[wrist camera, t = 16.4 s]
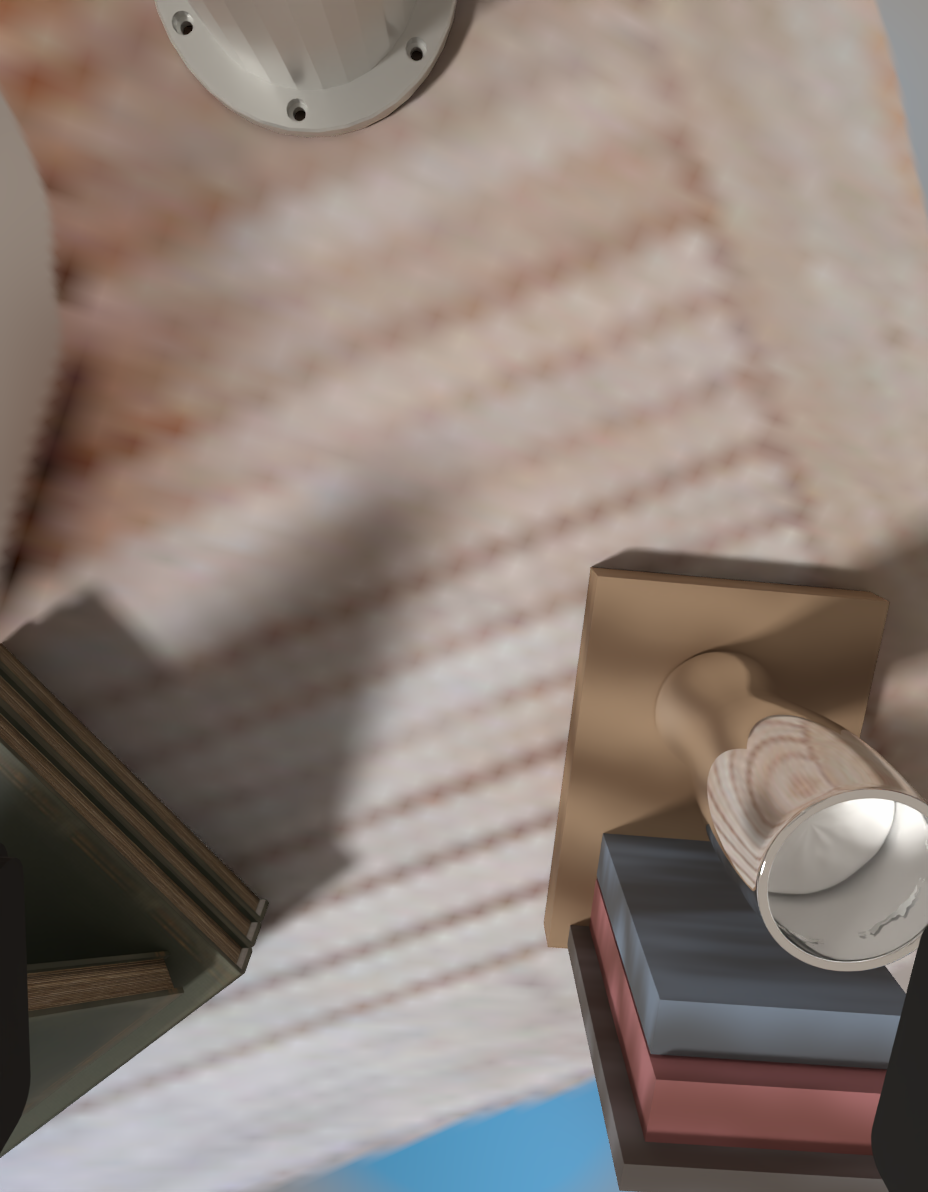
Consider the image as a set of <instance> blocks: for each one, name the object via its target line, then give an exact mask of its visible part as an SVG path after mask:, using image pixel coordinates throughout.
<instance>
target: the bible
mask: <svg viewBox="0 0 928 1192" xmlns="http://www.w3.org/2000/svg"><path fill="white" fill-rule="evenodd" d="M0 843H2V844H3V845H4V846H5V848H6V850H7V853H8V857H13V858H18V859H19V860H20V861H21V863H22V866H23V873H24V901H25V929H26V957H27V986H28V1014H29V1043H30V1071H31V1079H30V1088H29V1094H28V1098H27V1102H26V1105H25V1108H24V1110H23V1113H22V1116H21V1118H20V1120H19V1122H18V1124H17V1125H16V1127H15V1129H14V1131H13V1132H12V1134H11V1136H10V1137H9V1139H8V1141H7V1143H6V1144H5V1146H4V1148H3V1150H2V1151H1V1153H0V1158H1V1157H2V1156H3V1155H5V1154H6V1153H7V1152H9V1151H10V1150H11V1149H13V1148H14V1147H15V1146H17V1145H18V1144H19V1143H21V1142H22V1141H23V1140H25V1139H26V1138H27V1137H29V1136H30V1135H31V1134H33V1133H34V1132H35V1131H37V1130H38V1129H39V1128H40V1127H42V1126H43V1125H44V1124H46V1123H47V1122H48V1121H50V1120H51V1119H52V1118H54V1117H55V1116H56V1115H58V1114H59V1113H60V1112H62V1111H63V1110H64V1109H66V1108H67V1107H68V1106H70V1105H71V1104H72V1103H74V1102H75V1101H76V1100H78V1099H79V1098H80V1097H81V1096H83V1095H84V1094H85V1093H87V1092H88V1091H89V1090H91V1089H92V1088H93V1087H95V1086H96V1085H97V1084H99V1083H100V1082H101V1081H103V1080H104V1079H105V1078H107V1077H108V1076H109V1075H111V1074H112V1073H113V1072H115V1071H116V1070H117V1069H118V1068H120V1067H121V1066H122V1065H124V1064H125V1063H126V1062H128V1061H129V1060H130V1059H132V1058H133V1057H134V1056H136V1055H137V1054H138V1053H140V1052H141V1051H142V1050H144V1049H145V1048H146V1047H148V1046H149V1045H150V1044H152V1043H153V1042H154V1041H156V1040H157V1039H158V1038H159V1037H161V1036H162V1035H163V1034H165V1033H166V1032H167V1031H169V1030H170V1029H171V1028H173V1027H174V1026H175V1025H177V1024H178V1023H179V1022H181V1021H182V1020H183V1019H185V1018H186V1017H187V1016H189V1015H190V1014H191V1013H193V1012H194V1011H195V1010H196V1009H198V1008H199V1007H200V1006H202V1005H203V1004H204V1003H206V1002H207V1001H208V1000H210V999H211V998H212V997H214V996H215V995H216V994H218V993H219V992H220V991H222V990H223V989H224V988H226V987H227V986H228V985H230V984H231V983H232V982H233V981H235V980H236V979H237V978H239V977H240V976H241V975H243V974H244V973H245V971H246V968H247V965H248V962H249V959H250V957H251V954H252V948H251V947H253V946H254V945H255V942H256V939H257V936H258V933H259V930H260V928H261V923H260V922H261V921H262V920H263V919H264V916H265V913H266V910H267V907H268V904H269V902H268V901H267V900H266V899H259V898H258V897H257V896H256V895H255V894H254V893H253V892H252V891H251V890H250V889H249V888H248V887H247V886H246V885H245V884H244V883H243V882H242V881H241V880H240V879H239V878H238V877H237V876H236V875H235V874H233V873H232V872H231V871H230V870H229V869H228V868H227V867H226V866H225V865H224V864H223V863H222V862H221V861H220V860H219V859H218V858H217V857H216V856H215V855H214V854H213V853H212V852H211V851H210V850H209V849H208V848H207V847H206V846H205V845H204V844H203V843H202V842H201V841H200V840H199V839H198V838H197V837H196V836H195V835H194V834H193V833H192V832H191V831H190V830H189V829H188V828H187V827H186V826H185V825H184V824H183V823H182V822H181V821H180V820H179V819H178V818H177V817H176V816H175V815H174V814H173V813H172V812H171V811H170V810H169V809H168V808H167V807H166V806H165V805H164V804H163V803H162V802H161V801H160V800H159V799H158V798H157V797H156V796H155V795H154V794H153V793H152V792H151V791H150V790H149V789H148V788H147V787H146V786H145V785H144V784H143V783H142V782H141V781H140V780H139V779H138V778H137V777H136V776H135V775H134V774H133V773H132V772H131V771H130V770H129V769H128V768H127V767H126V766H125V765H124V764H123V763H121V762H120V761H119V760H118V759H117V758H116V757H115V756H114V755H113V754H112V753H111V752H110V751H109V750H108V749H107V748H106V747H105V746H104V745H103V744H102V743H101V742H100V741H99V740H98V739H97V738H96V737H95V736H94V735H93V734H92V733H91V732H90V731H89V730H88V729H87V728H86V727H85V726H84V725H83V724H82V723H81V722H80V721H79V720H78V719H77V718H76V717H75V716H74V715H73V714H72V713H71V712H70V711H69V710H68V709H67V708H66V707H65V706H64V705H63V704H62V703H61V702H60V701H59V700H58V699H57V698H56V697H55V696H54V695H53V694H52V693H51V692H50V691H49V690H48V689H47V688H46V687H45V686H44V685H43V684H42V683H41V682H40V681H39V680H38V679H37V678H36V677H35V676H34V675H33V674H32V673H31V672H30V671H29V670H28V669H27V668H26V667H25V666H24V665H23V664H22V663H21V662H20V661H19V660H18V659H17V658H16V657H15V656H14V655H13V654H12V653H11V652H9V651H8V650H7V649H6V648H5V647H4V646H3V645H2V644H0Z"/></svg>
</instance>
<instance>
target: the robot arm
mask: <svg viewBox="0 0 928 1192" xmlns="http://www.w3.org/2000/svg"><path fill="white" fill-rule="evenodd" d="M456 3H457V0H155V4H156V8H157V11H158V14H159V16H160V18H161V20H162V23H163V25H164V27H165V30H166V32H167V34H168V37H169V39H170V41H171V43H172V44H173V46H174V47H175V49H176V50H177V52H178V53H179V55H180V56H181V58H182V60H183V61H184V63H185V64H186V66H187V67H188V69H189V70H190V71H191V72H192V73H193V75H194V76H195V77H196V78H197V79H198V81H199V82H200V83H201V84H202V85H203V87H205V88H206V89H207V90H208V91H209V92H210V93H211V94H212V95H213V96H214V97H216V98H217V99H218V100H219V101H220V102H221V103H222V104H223V105H224V106H225V107H227V108H228V109H230V110H231V111H233V112H235V113H236V114H238V115H240V116H241V117H243V118H244V119H246V120H248V121H249V122H251V123H253V124H256V125H258V126H261V127H264V128H266V129H269V130H272V131H274V132H277V133H281V134H287V135H293V136H299V137H306V138H310V137H331V136H338V135H341V134H345V133H349V132H353V131H356V130H360V129H363V128H365V127H367V126H369V125H371V124H373V123H375V122H377V121H379V120H381V119H383V118H385V117H386V116H388V115H389V114H390V113H392V112H393V111H394V110H395V109H397V108H398V107H399V106H400V105H402V104H403V103H404V102H405V101H407V100H408V99H409V98H410V97H411V96H412V95H413V93H414V92H415V91H416V90H417V89H418V87H419V86H420V85H421V84H422V83H423V82H424V80H425V79H426V78H427V77H428V76H429V74H430V72H431V70H432V68H433V67H434V65H435V63H436V61H437V60H438V58H439V56H440V54H441V53H442V51H443V49H444V46H445V43H446V40H447V37H448V35H449V32H450V29H451V26H452V23H453V20H454V15H455V9H456ZM189 25H191V26H193V30H192V31H191V32H190V33H189V34H187V35H184V32H183V31H184V28H185V27H186V26H189ZM414 51H419V52H421V53H422V54H423V57H422V59H421V60H419V61H414V60H413V59H412V58H411V54H412V53H413V52H414ZM300 110H302V111H304V112H305V113H306V116H305V119H304V120H302V121H297V120H295V114H296V112H297V111H300ZM30 1079H31V1071H30V1043H29V1014H28V986H27V957H26V929H25V901H24V873H23V866H22V863H21V861H20V860H19V859H18V858H13V857H8V853H7V850H6V848H5V846H4V845H3V844H2V843H0V1153H1V1151H2V1150H3V1148H4V1146H5V1144H6V1143H7V1141H8V1139H9V1137H10V1136H11V1134H12V1132H13V1131H14V1129H15V1127H16V1125H17V1124H18V1122H19V1120H20V1118H21V1116H22V1113H23V1110H24V1108H25V1105H26V1102H27V1098H28V1094H29V1088H30ZM871 1147H872V1153H873V1158H874V1161H875V1164H876V1167H877V1170H878V1172H879V1174H880V1176H881V1178H882V1180H883V1182H884V1183H885V1185H886V1187H887V1189H888V1191H889V1192H928V926H927V927H926V928H925V929H924V930H923V933H922V935H921V938H920V942H919V946H918V950H917V954H916V958H915V961H914V965H913V969H912V973H911V977H910V981H909V985H908V989H907V993H906V997H905V1001H904V1005H903V1008H902V1012H901V1016H900V1020H899V1024H898V1028H897V1032H896V1036H895V1040H894V1044H893V1048H892V1052H891V1056H890V1059H889V1063H888V1067H887V1071H886V1075H885V1079H884V1083H883V1087H882V1091H881V1095H880V1099H879V1103H878V1107H877V1110H876V1114H875V1118H874V1122H873V1126H872V1132H871Z"/></svg>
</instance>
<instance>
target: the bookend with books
mask: <svg viewBox="0 0 928 1192" xmlns="http://www.w3.org/2000/svg"><path fill="white" fill-rule="evenodd" d="M889 603H890V602H889V601H887V600H885V599H883V598H881V597H879V596H877V595H875V594H873V593H871V592H867V591H856V590H845V589H833V588H822V587H811V586H799V585H788V584H777V583H765V582H754V581H742V580H731V579H720V578H708V577H697V576H686V575H674V574H663V573H652V572H640V571H629V570H617V569H606V568H595V567H591V570H590V578H589V585H588V593H587V600H586V608H585V615H584V623H583V630H582V638H581V646H580V653H579V661H578V668H577V676H576V683H575V691H574V699H573V706H572V714H571V721H570V729H569V736H568V744H567V751H566V759H565V767H564V774H563V782H562V789H561V797H560V804H559V812H558V820H557V827H556V835H555V842H554V850H553V857H552V865H551V872H550V880H549V888H548V895H547V903H546V910H545V918H544V928H545V933H546V939H547V945H548V947H555V948H568V951H569V955H570V960H571V965H572V969H573V974H574V979H575V984H576V988H577V993H578V998H579V1002H580V1007H581V1012H582V1017H583V1021H584V1026H585V1031H586V1035H587V1040H588V1045H589V1049H590V1054H591V1059H592V1064H593V1068H594V1073H595V1078H596V1082H597V1087H598V1092H599V1096H600V1101H601V1106H602V1111H603V1115H604V1120H605V1124H606V1129H607V1134H608V1139H609V1143H610V1148H611V1153H612V1157H613V1162H614V1167H615V1172H616V1176H617V1181H618V1186H619V1190H620V1191H621V1190H622V1191H637V1192H889V1191H888V1189H887V1187H886V1185H885V1183H884V1182H883V1180H882V1178H881V1176H880V1174H879V1172H878V1170H877V1167H876V1164H875V1161H874V1158H873V1153H872V1147H871V1132H872V1126H873V1122H874V1118H875V1114H876V1110H877V1107H878V1103H879V1099H880V1095H881V1091H882V1087H883V1083H884V1079H885V1075H886V1071H887V1067H888V1063H889V1059H890V1056H891V1052H892V1048H893V1044H894V1040H895V1036H896V1032H897V1028H898V1024H899V1020H900V1016H901V1012H902V1008H903V1005H904V1001H905V997H906V993H905V992H904V991H903V989H902V988H901V987H900V985H899V984H898V983H897V981H896V980H895V979H894V977H893V976H892V975H891V973H890V972H889V971H888V969H887V968H886V967H885V966H881V967H878V968H874V969H869V970H863V971H850V972H845V971H832V970H826V969H822V968H818V967H815V966H812V965H809V964H807V963H804V962H802V961H800V960H798V959H797V958H795V957H793V956H792V955H790V954H789V953H788V952H787V951H785V950H784V949H783V948H782V947H781V946H780V945H779V944H778V943H777V942H776V941H775V940H774V939H773V937H772V936H771V935H770V933H769V932H768V930H767V928H766V926H765V924H764V923H763V922H762V920H761V919H760V918H759V916H758V915H757V914H756V912H755V911H754V910H753V909H752V907H751V906H750V905H749V903H748V902H747V901H746V899H745V898H744V896H743V895H742V894H741V892H740V891H739V890H738V888H737V887H736V885H735V884H734V882H733V881H732V879H731V877H730V876H729V874H728V873H727V871H726V870H725V868H724V867H723V865H722V863H721V861H720V859H719V857H718V855H717V854H716V852H715V850H714V848H713V846H712V844H711V842H710V840H709V837H708V835H707V832H706V829H705V826H704V823H703V820H702V817H701V814H700V811H699V808H698V804H697V799H696V795H695V791H694V787H693V782H692V777H691V773H690V770H689V768H688V767H687V766H686V765H684V764H683V763H682V762H681V761H679V760H678V759H677V758H676V757H675V756H673V755H672V754H671V753H670V751H669V750H668V749H667V748H666V746H665V745H664V744H663V742H662V740H661V739H660V736H659V734H658V731H657V728H656V723H655V704H656V700H657V696H658V693H659V691H660V689H661V687H662V685H663V683H664V681H665V680H666V679H667V677H668V676H669V675H670V674H671V673H672V671H673V670H675V669H676V668H677V667H678V666H679V665H680V664H682V663H683V662H685V661H686V660H688V659H690V658H692V657H694V656H697V655H699V654H703V653H707V652H712V651H731V652H736V653H740V654H743V655H746V656H748V657H750V658H752V659H754V660H755V661H757V662H758V663H759V664H761V665H762V666H763V667H764V668H765V669H766V670H767V671H768V672H769V674H770V675H771V676H772V678H773V679H774V681H775V683H776V684H777V686H778V688H779V690H780V692H781V694H782V696H783V697H784V698H786V699H788V700H790V701H792V702H794V703H796V704H799V705H801V706H803V707H805V708H808V709H810V710H812V711H814V712H816V713H818V714H821V715H823V716H825V717H827V718H828V719H830V720H832V721H834V722H835V723H837V724H839V725H841V726H842V727H844V728H846V729H848V730H849V731H851V732H852V733H854V734H855V735H856V736H858V737H859V738H860V734H861V730H862V725H863V721H864V716H865V712H866V707H867V702H868V698H869V693H870V689H871V684H872V680H873V675H874V671H875V666H876V662H877V657H878V653H879V648H880V644H881V639H882V635H883V630H884V626H885V621H886V617H887V612H888V607H889Z"/></svg>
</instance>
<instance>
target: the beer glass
mask: <svg viewBox="0 0 928 1192" xmlns="http://www.w3.org/2000/svg"><path fill="white" fill-rule="evenodd" d="M655 723H656V728H657V731H658V734H659V736H660V739H661V740H662V742H663V744H664V745H665V746H666V748H667V749H668V750H669V751H670V753H671V754H672V755H673V756H675V757H676V758H677V759H678V760H679V761H681V762H682V763H683V764H684V765H686V766H687V767H688V768H689V770H690V773H691V777H692V782H693V787H694V791H695V795H696V799H697V804H698V808H699V811H700V814H701V817H702V820H703V823H704V826H705V829H706V832H707V835H708V837H709V840H710V842H711V844H712V846H713V848H714V850H715V852H716V854H717V855H718V857H719V859H720V861H721V863H722V865H723V867H724V868H725V870H726V871H727V873H728V874H729V876H730V877H731V879H732V881H733V882H734V884H735V885H736V887H737V888H738V890H739V891H740V892H741V894H742V895H743V896H744V898H745V899H746V901H747V902H748V903H749V905H750V906H751V907H752V909H753V910H754V911H755V912H756V914H757V915H758V916H759V918H760V919H761V920H762V922H763V923H764V924H765V926H766V928H767V930H768V932H769V933H770V935H771V936H772V937H773V939H774V940H775V941H776V942H777V943H778V944H779V945H780V946H781V947H782V948H783V949H784V950H785V951H787V952H788V953H789V954H790V955H792V956H793V957H795V958H797V959H798V960H800V961H802V962H804V963H807V964H809V965H812V966H815V967H818V968H822V969H826V970H832V971H845V972H850V971H863V970H869V969H874V968H878V967H881V966H885V965H888V964H890V963H893V962H895V961H897V960H899V959H901V958H903V957H905V956H907V955H909V954H910V953H912V952H914V951H915V950H916V949H918V946H919V942H920V938H921V935H922V933H923V930H924V929H925V928H926V927H927V926H928V804H927V803H926V801H925V800H924V799H923V798H922V797H921V796H920V795H919V793H918V792H917V791H916V790H915V789H914V788H913V787H912V786H911V785H910V784H909V783H908V781H907V780H906V779H905V778H904V777H903V776H902V775H901V774H900V773H899V772H898V771H897V770H896V769H895V768H894V767H893V766H892V765H891V764H890V763H889V762H888V761H887V760H885V759H884V758H883V757H882V756H881V755H880V754H879V753H878V752H877V751H876V750H874V749H873V748H872V747H871V746H869V745H868V744H867V743H865V742H864V741H863V740H862V739H860V738H859V737H858V736H856V735H855V734H854V733H852V732H851V731H849V730H848V729H846V728H844V727H842V726H841V725H839V724H837V723H835V722H834V721H832V720H830V719H828V718H827V717H825V716H823V715H821V714H818V713H816V712H814V711H812V710H810V709H808V708H805V707H803V706H801V705H799V704H796V703H794V702H792V701H790V700H788V699H786V698H784V697H783V696H782V694H781V692H780V690H779V688H778V686H777V684H776V683H775V681H774V679H773V678H772V676H771V675H770V674H769V672H768V671H767V670H766V669H765V668H764V667H763V666H762V665H761V664H759V663H758V662H757V661H755V660H754V659H752V658H750V657H748V656H746V655H743V654H740V653H736V652H731V651H712V652H707V653H703V654H699V655H697V656H694V657H692V658H690V659H688V660H686V661H685V662H683V663H682V664H680V665H679V666H678V667H677V668H676V669H675V670H673V671H672V673H671V674H670V675H669V676H668V677H667V679H666V680H665V681H664V683H663V685H662V687H661V689H660V691H659V693H658V696H657V700H656V704H655Z"/></svg>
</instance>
